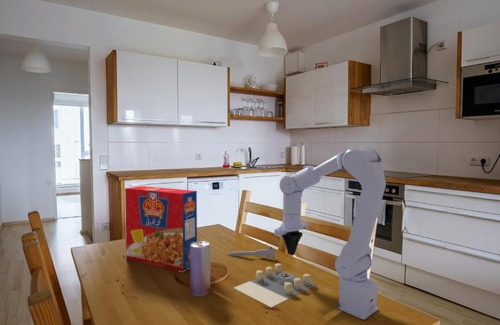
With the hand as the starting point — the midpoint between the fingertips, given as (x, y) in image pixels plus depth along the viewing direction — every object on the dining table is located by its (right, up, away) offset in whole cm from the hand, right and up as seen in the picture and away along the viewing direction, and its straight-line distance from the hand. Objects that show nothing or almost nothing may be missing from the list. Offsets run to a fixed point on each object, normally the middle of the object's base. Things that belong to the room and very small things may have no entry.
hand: (291, 254), depth 105 cm
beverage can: (-29, -10, -7) cm, 31 cm away
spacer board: (-6, -10, -5) cm, 12 cm away
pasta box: (-47, -9, +18) cm, 51 cm away
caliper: (-13, -9, +22) cm, 27 cm away
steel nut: (-2, -9, -2) cm, 9 cm away
